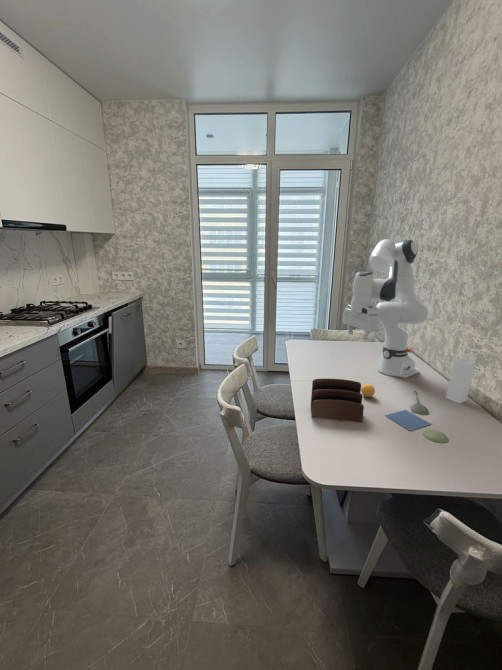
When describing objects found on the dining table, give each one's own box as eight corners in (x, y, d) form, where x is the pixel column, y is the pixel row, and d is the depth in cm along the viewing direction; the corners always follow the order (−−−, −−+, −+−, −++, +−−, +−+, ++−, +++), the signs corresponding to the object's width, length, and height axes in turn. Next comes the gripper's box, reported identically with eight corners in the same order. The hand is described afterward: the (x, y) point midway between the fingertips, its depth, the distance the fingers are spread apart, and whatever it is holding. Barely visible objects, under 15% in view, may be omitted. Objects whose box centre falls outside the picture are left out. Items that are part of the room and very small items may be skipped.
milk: (466, 401, 140) (477, 355, 134) (459, 404, 138) (470, 357, 131) (452, 395, 146) (462, 351, 139) (445, 398, 143) (455, 353, 137)
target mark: (405, 410, 131) (405, 409, 131) (431, 424, 121) (431, 424, 121) (384, 415, 127) (384, 415, 127) (409, 431, 116) (409, 430, 116)
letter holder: (310, 406, 134) (312, 376, 130) (357, 410, 131) (361, 379, 127) (311, 418, 124) (313, 386, 121) (362, 423, 122) (366, 390, 118)
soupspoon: (410, 415, 129) (428, 420, 127) (412, 408, 128) (430, 412, 126) (407, 392, 149) (422, 395, 146) (409, 386, 148) (424, 389, 145)
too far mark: (432, 428, 118) (432, 427, 118) (453, 439, 111) (453, 439, 111) (418, 432, 115) (418, 432, 115) (438, 445, 108) (438, 444, 108)
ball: (367, 392, 147) (368, 381, 145) (377, 398, 142) (378, 386, 140) (357, 394, 145) (359, 383, 143) (367, 400, 139) (368, 388, 138)
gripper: (340, 304, 149) (337, 332, 153) (371, 311, 131) (368, 343, 135) (350, 303, 152) (347, 330, 155) (383, 310, 134) (379, 341, 137)
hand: (357, 336), depth 145 cm, fingers open, 8 cm apart
